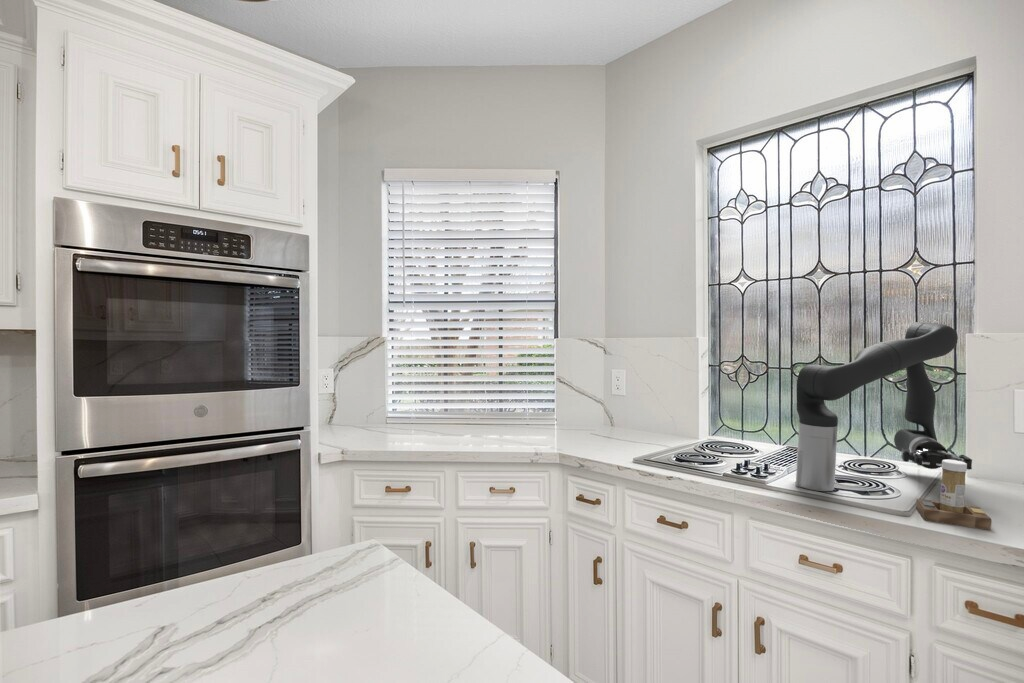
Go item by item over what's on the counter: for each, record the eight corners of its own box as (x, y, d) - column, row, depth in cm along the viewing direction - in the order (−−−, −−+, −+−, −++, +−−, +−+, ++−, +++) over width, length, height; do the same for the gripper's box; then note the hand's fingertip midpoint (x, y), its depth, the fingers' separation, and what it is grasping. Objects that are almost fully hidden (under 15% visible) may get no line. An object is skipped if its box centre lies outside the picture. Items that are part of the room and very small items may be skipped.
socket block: (923, 519, 128) (924, 509, 128) (916, 508, 136) (916, 498, 136) (990, 530, 122) (991, 518, 122) (978, 517, 130) (979, 507, 130)
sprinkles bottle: (933, 515, 131) (936, 458, 131) (951, 515, 132) (954, 458, 131) (950, 522, 127) (954, 463, 126) (969, 522, 127) (972, 463, 127)
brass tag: (973, 513, 126) (973, 511, 126) (969, 509, 129) (969, 507, 129) (985, 514, 125) (985, 513, 125) (980, 510, 128) (980, 509, 128)
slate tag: (924, 505, 130) (924, 504, 130) (921, 502, 133) (921, 500, 133) (934, 507, 129) (934, 506, 129) (931, 503, 132) (931, 502, 132)
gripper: (897, 435, 156) (908, 445, 142) (960, 441, 150) (978, 453, 135) (895, 461, 157) (906, 474, 142) (958, 469, 150) (976, 483, 136)
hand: (941, 464), depth 139 cm, fingers open, 8 cm apart
